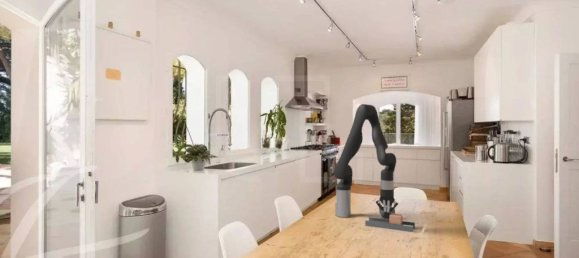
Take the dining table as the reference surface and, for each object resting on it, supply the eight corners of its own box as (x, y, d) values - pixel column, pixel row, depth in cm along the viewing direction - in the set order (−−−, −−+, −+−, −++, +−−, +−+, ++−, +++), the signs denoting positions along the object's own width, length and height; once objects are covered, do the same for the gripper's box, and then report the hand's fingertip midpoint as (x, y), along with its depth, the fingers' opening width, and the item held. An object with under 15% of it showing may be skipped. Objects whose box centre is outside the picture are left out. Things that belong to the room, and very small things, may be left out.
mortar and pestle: (389, 222, 208) (389, 202, 208) (376, 219, 215) (376, 200, 215) (398, 218, 216) (398, 199, 215) (385, 215, 222) (385, 197, 222)
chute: (365, 227, 198) (365, 220, 198) (369, 223, 206) (369, 216, 206) (412, 233, 186) (412, 226, 186) (414, 229, 194) (415, 222, 194)
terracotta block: (389, 228, 193) (389, 215, 193) (391, 225, 198) (391, 213, 198) (400, 229, 190) (400, 217, 190) (402, 226, 196) (402, 214, 196)
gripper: (373, 188, 196) (373, 218, 196) (397, 190, 190) (397, 221, 190) (376, 185, 203) (376, 215, 203) (400, 187, 197) (399, 218, 197)
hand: (386, 218), depth 196 cm, fingers closed
